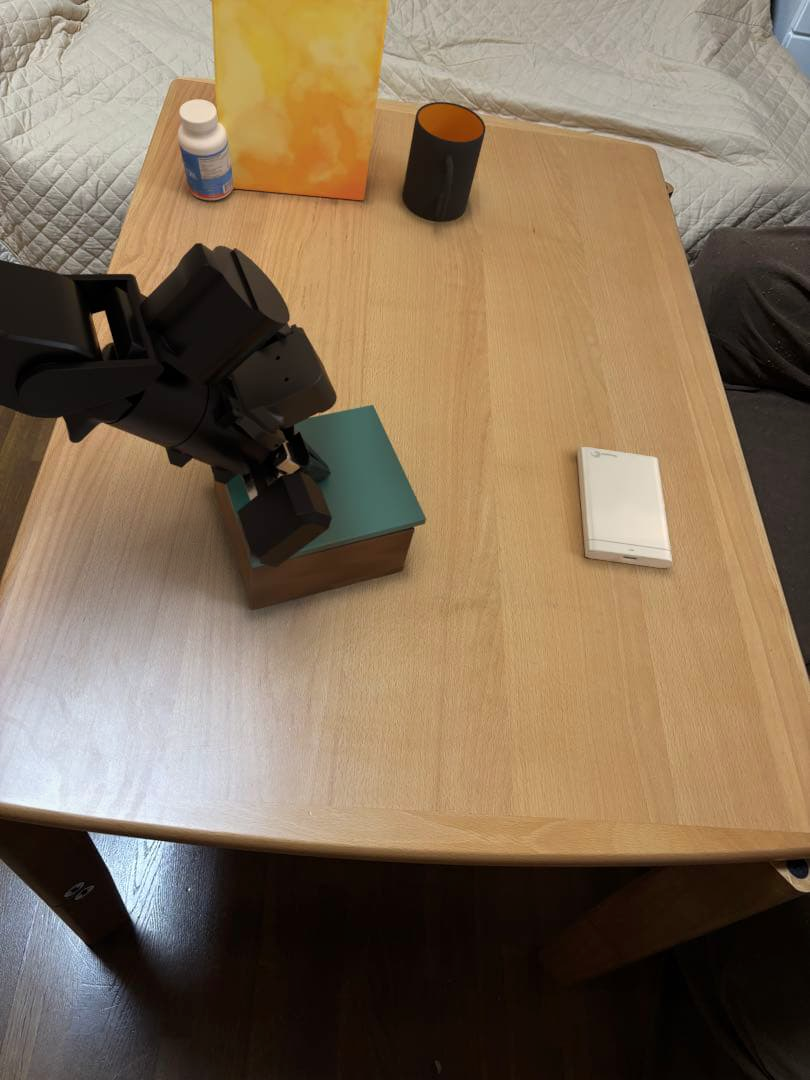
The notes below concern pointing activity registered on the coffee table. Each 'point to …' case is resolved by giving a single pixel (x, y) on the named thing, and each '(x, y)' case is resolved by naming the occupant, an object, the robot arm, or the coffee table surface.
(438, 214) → the mug
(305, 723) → the coffee table surface
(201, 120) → the pill bottle
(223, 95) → the mottled yellow carton
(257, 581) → the box
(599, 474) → the hard drive
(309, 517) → the robot arm
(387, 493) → the lid
